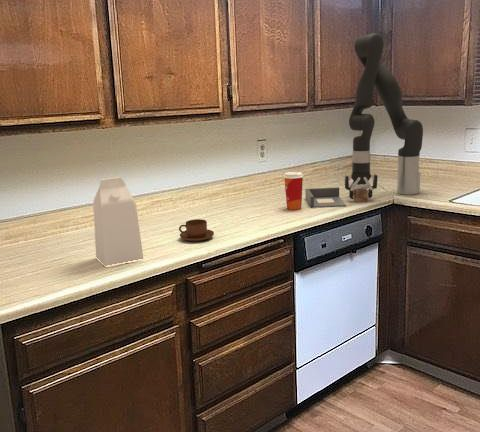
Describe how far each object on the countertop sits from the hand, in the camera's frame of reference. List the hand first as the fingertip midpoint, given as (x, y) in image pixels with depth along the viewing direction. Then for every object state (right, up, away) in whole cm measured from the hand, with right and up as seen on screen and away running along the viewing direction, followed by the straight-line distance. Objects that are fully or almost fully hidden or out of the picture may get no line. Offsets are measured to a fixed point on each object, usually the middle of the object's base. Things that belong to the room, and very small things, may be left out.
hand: (360, 198), depth 236 cm
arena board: (-15, -2, 0) cm, 16 cm away
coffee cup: (-30, -5, -8) cm, 31 cm away
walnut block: (0, -1, 0) cm, 1 cm away
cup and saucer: (-68, -16, -46) cm, 83 cm away
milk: (-91, -21, -65) cm, 114 cm away
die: (+2, +2, +14) cm, 14 cm away
